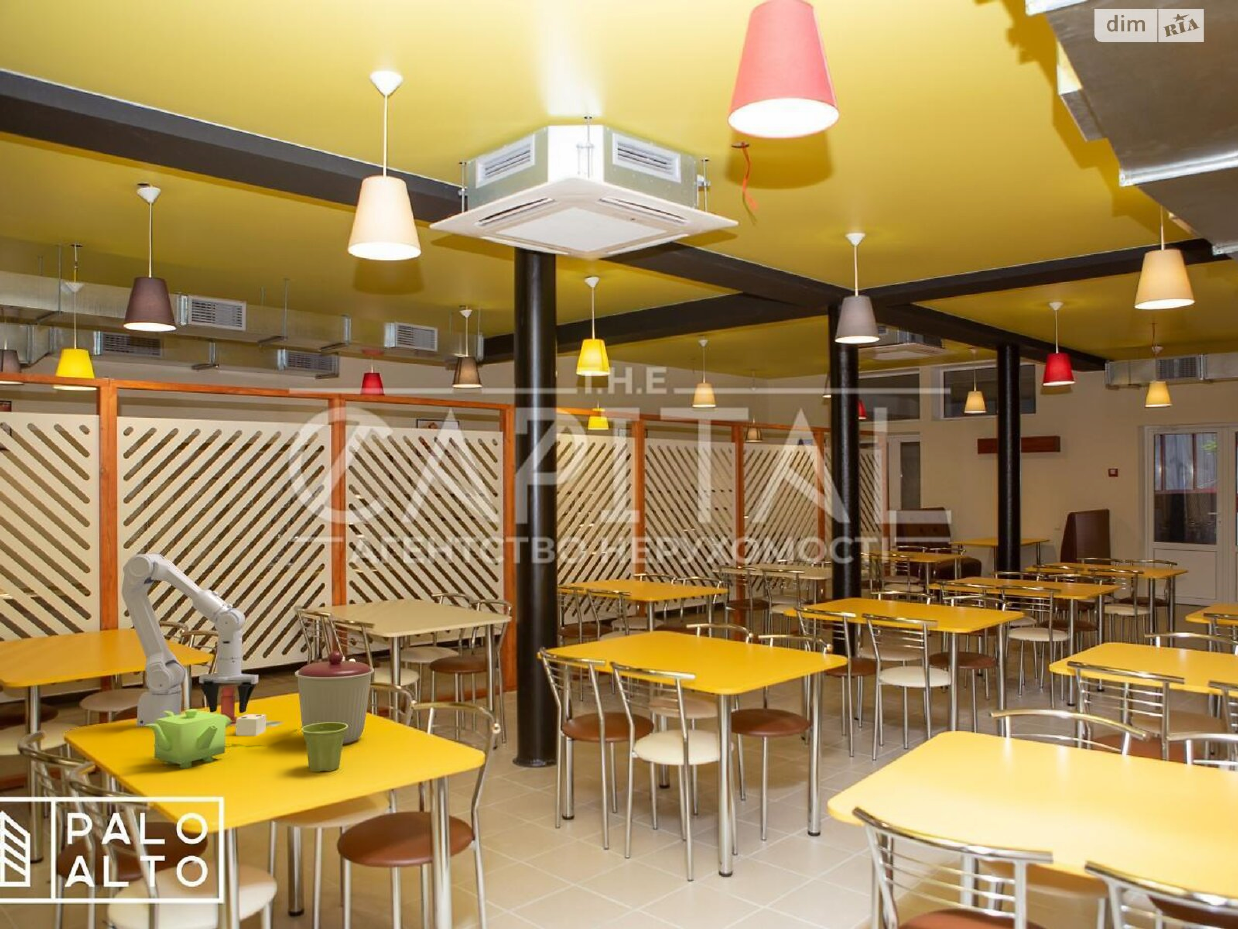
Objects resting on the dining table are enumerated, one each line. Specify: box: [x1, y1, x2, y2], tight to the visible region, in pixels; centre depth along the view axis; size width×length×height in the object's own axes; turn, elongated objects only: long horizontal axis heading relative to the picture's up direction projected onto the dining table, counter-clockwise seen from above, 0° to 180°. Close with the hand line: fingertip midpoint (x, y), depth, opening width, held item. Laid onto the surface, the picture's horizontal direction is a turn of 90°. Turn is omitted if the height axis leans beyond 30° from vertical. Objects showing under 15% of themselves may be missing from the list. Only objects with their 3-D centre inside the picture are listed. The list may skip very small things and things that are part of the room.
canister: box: [294, 650, 375, 745], centre depth 216 cm, size 18×18×21 cm
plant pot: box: [301, 722, 348, 773], centre depth 192 cm, size 9×9×9 cm
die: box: [235, 713, 267, 737], centre depth 218 cm, size 5×5×5 cm
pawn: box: [220, 685, 238, 725], centre depth 229 cm, size 5×5×9 cm
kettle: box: [144, 708, 232, 769], centre depth 196 cm, size 15×14×11 cm
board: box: [228, 720, 285, 727], centre depth 228 cm, size 23×7×1 cm, turn 86°
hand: (227, 712), depth 229 cm, fingers open, 7 cm apart
